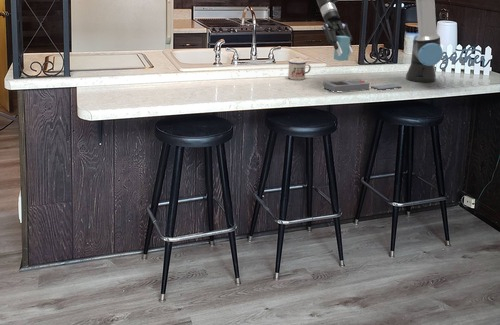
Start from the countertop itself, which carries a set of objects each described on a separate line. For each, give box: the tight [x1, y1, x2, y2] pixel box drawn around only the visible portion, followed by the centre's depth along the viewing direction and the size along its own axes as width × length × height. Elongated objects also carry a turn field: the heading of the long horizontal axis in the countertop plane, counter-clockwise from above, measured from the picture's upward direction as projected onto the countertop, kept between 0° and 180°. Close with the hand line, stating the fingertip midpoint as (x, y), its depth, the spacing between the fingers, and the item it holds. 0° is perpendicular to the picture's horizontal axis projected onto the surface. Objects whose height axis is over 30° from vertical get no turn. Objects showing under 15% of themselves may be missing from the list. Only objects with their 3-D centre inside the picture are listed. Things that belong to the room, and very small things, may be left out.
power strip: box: [322, 78, 371, 93], centre depth 316 cm, size 20×10×4 cm, turn 116°
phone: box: [369, 83, 402, 91], centre depth 321 cm, size 14×7×1 cm, turn 120°
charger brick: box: [333, 35, 351, 62], centre depth 310 cm, size 5×5×11 cm
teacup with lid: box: [287, 55, 312, 81], centre depth 335 cm, size 12×9×12 cm
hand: (345, 54), depth 307 cm, fingers closed on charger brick, 5 cm apart
